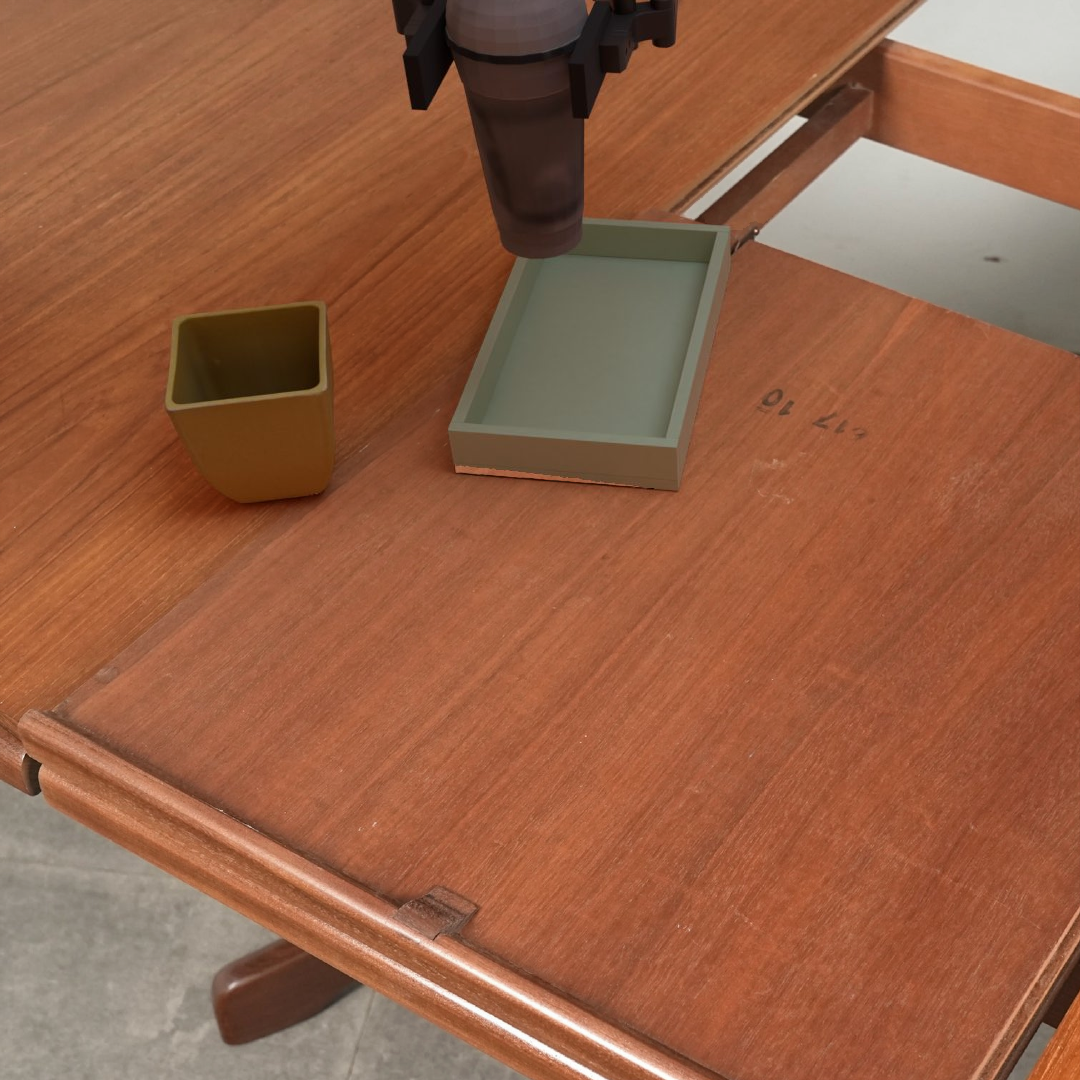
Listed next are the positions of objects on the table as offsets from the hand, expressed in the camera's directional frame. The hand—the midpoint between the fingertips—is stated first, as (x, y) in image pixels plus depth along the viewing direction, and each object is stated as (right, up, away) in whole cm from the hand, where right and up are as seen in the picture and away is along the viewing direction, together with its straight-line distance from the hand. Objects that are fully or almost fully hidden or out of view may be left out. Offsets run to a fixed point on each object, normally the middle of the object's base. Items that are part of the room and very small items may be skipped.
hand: (496, 87), depth 73 cm
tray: (+3, -7, +27) cm, 28 cm away
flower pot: (-15, -16, +20) cm, 30 cm away
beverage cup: (+1, -4, +12) cm, 12 cm away
